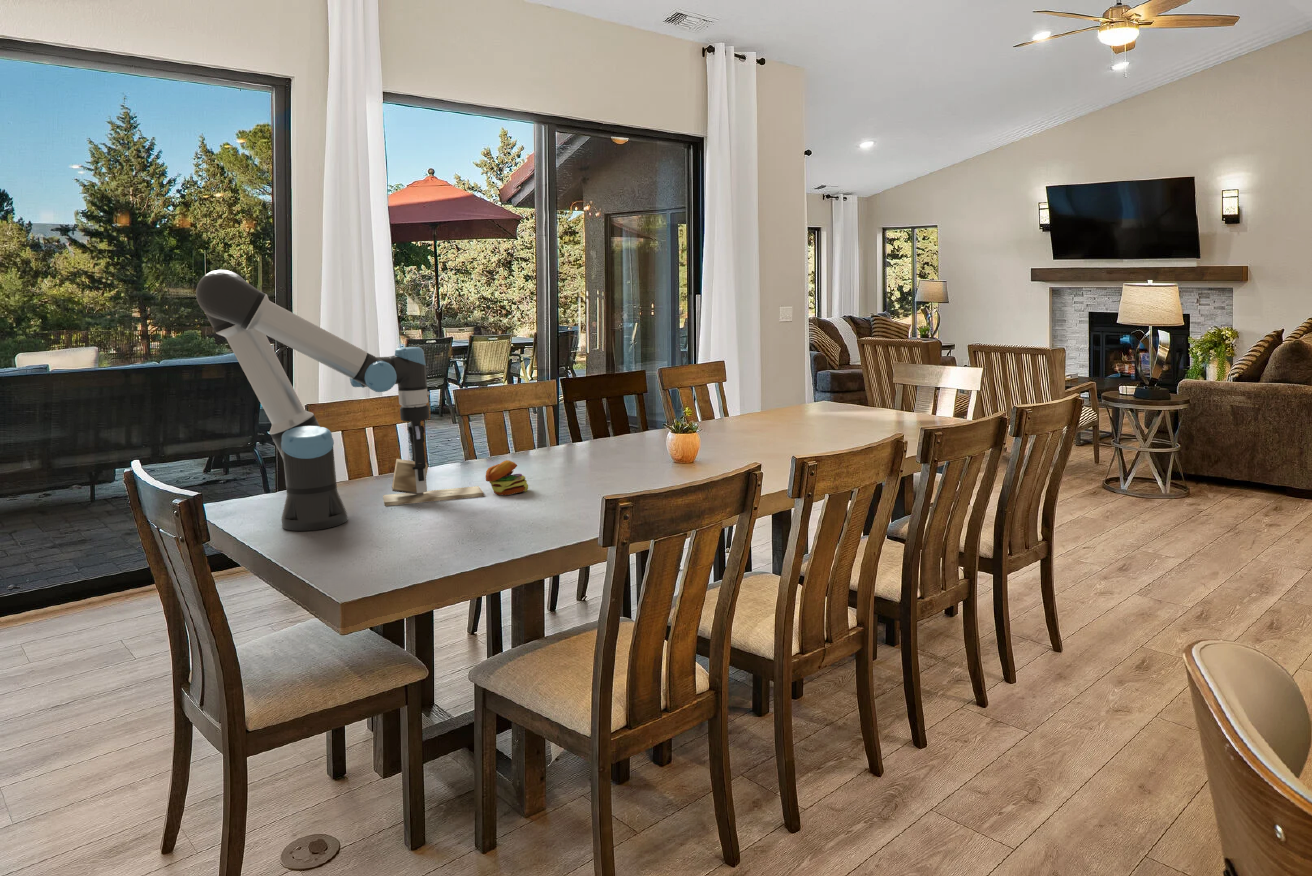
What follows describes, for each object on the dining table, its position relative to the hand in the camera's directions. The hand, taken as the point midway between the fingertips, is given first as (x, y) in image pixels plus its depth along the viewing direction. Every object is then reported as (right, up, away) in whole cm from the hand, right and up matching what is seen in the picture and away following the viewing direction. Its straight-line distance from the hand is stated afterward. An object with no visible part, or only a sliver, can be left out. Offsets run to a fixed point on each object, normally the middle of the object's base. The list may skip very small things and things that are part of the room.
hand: (421, 489), depth 250 cm
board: (+3, -2, +1) cm, 4 cm away
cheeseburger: (+23, -1, +5) cm, 23 cm away
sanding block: (-3, 0, -1) cm, 4 cm away
